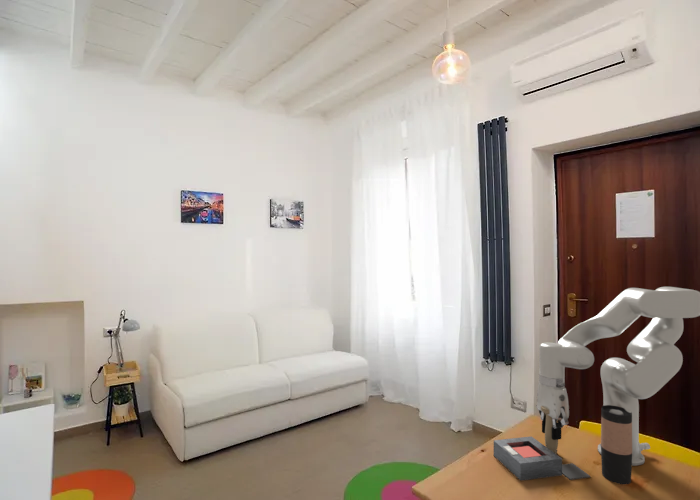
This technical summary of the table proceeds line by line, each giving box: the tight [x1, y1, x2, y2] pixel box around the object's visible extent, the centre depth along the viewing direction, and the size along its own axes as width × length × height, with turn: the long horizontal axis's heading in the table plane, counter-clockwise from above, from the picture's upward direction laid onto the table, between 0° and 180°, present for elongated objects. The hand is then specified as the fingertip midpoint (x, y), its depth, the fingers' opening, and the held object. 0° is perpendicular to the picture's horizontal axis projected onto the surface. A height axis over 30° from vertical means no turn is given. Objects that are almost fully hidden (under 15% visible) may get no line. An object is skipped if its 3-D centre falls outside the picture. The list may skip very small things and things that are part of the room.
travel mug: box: [600, 405, 633, 485], centre depth 114 cm, size 8×8×20 cm
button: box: [513, 446, 541, 458], centre depth 121 cm, size 6×6×1 cm
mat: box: [562, 462, 591, 481], centre depth 117 cm, size 7×7×1 cm
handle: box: [541, 406, 559, 455], centre depth 128 cm, size 5×6×15 cm
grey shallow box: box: [493, 435, 563, 482], centre depth 121 cm, size 14×14×5 cm
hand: (551, 435), depth 128 cm, fingers closed on handle, 3 cm apart
